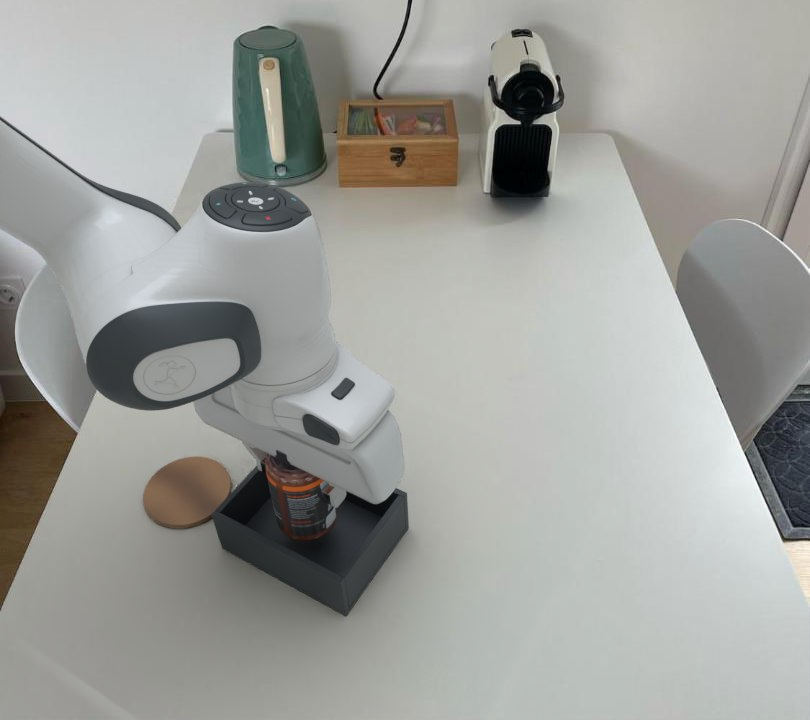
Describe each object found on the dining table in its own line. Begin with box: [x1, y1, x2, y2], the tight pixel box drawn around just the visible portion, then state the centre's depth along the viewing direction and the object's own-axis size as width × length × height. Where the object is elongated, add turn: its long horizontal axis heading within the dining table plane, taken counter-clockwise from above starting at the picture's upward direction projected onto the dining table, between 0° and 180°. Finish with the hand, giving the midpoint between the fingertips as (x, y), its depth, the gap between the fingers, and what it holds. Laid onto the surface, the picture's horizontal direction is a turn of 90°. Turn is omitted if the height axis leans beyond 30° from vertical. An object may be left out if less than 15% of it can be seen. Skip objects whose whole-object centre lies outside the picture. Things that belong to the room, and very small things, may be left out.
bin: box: [211, 465, 410, 617], centre depth 78 cm, size 11×15×6 cm
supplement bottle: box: [265, 450, 338, 541], centre depth 74 cm, size 6×6×11 cm
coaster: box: [142, 456, 233, 529], centre depth 85 cm, size 9×9×1 cm
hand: (302, 484), depth 74 cm, fingers closed on supplement bottle, 6 cm apart
